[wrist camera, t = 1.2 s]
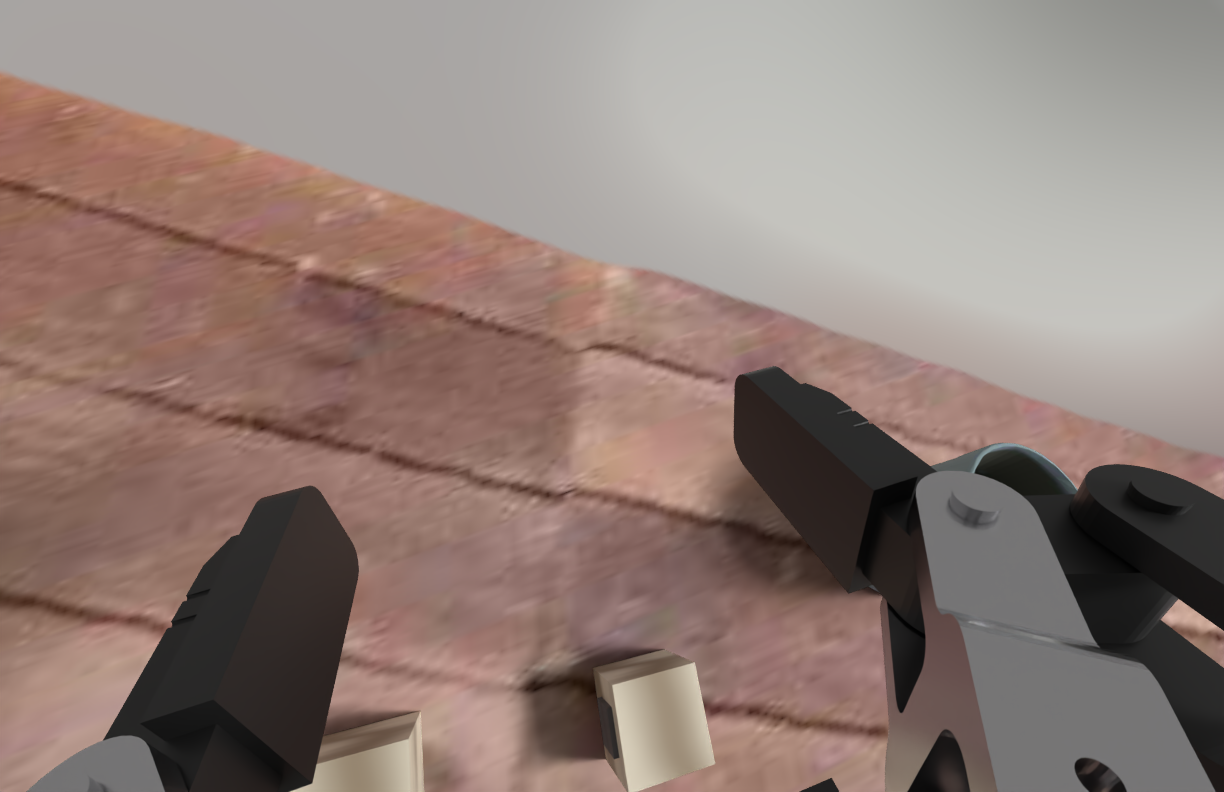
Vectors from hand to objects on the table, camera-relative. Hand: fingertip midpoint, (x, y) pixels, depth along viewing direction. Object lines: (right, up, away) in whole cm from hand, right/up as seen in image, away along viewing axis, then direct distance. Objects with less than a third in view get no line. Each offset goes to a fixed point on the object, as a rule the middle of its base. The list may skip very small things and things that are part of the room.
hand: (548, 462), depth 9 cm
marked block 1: (-12, -19, +17) cm, 28 cm away
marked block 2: (+3, -18, +21) cm, 28 cm away
